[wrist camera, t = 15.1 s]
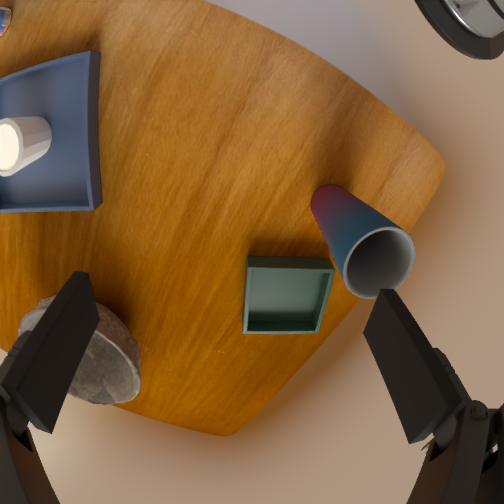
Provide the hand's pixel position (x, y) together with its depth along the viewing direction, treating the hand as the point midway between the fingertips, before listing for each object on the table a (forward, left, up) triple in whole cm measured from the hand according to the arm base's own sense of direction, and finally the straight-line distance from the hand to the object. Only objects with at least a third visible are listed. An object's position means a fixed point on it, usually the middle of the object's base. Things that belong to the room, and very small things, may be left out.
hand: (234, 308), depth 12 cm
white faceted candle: (+26, -6, -23) cm, 36 cm away
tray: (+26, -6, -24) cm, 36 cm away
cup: (-12, +3, -24) cm, 27 cm away
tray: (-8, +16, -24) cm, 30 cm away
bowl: (+22, +24, -24) cm, 40 cm away
